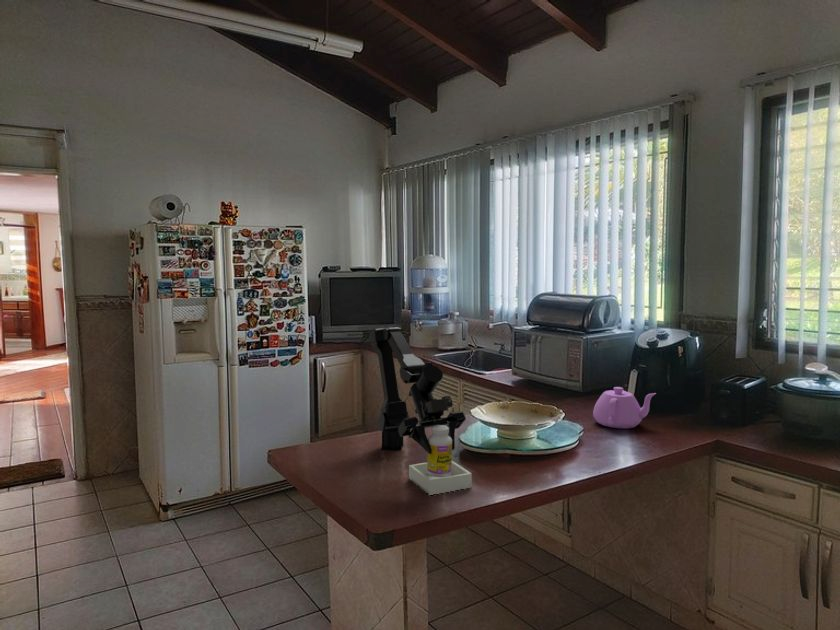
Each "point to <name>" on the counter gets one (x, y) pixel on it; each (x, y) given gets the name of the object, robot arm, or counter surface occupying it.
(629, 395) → the teapot
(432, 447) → the supplement bottle
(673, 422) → the counter surface
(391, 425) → the robot arm
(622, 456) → the counter surface
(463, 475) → the tote
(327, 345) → the counter surface
